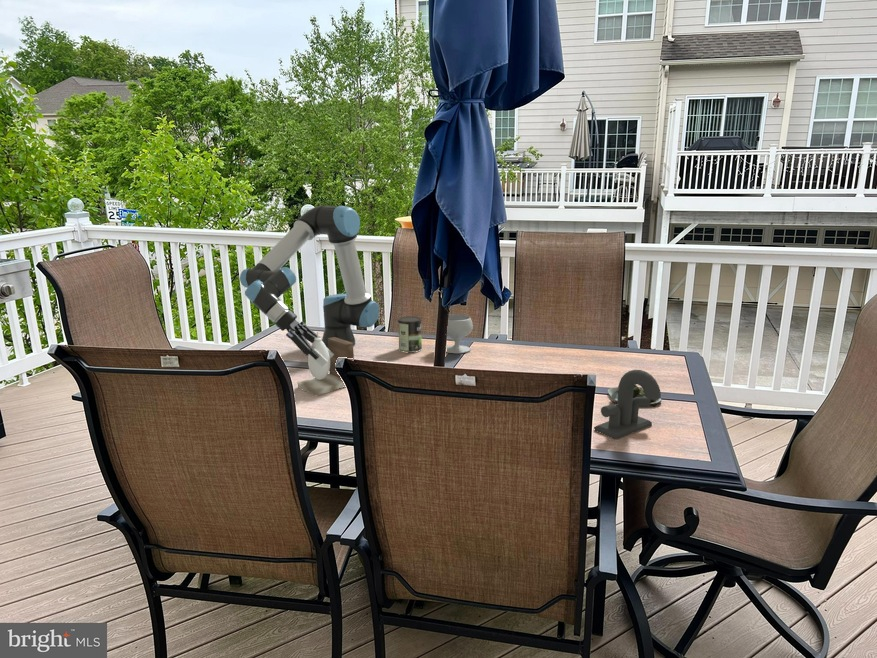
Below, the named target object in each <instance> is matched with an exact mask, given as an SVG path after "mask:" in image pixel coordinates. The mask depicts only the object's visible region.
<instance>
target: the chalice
mask: <svg viewBox="0 0 877 658" xmlns="http://www.w3.org/2000/svg"><path fill="white" fill-rule="evenodd" d="M448 315H449V318H448V326H447V335H446V336H447V337H449V338H451V339H452V340H453V341H454V345H453V344H451V345H447V346H446V347H447V352H446V353H448V354H456V355H457V354H466V353H469V352H471V348H470V347H469V346H467V345H460V340H462V338H465V337H466V336H468V335H469V334H471V333H472V331H473V328H474V326H473V324H474V323H473V321H472V318H471V316H469V315H467V314H463V313H462V314H461V313H452V314H448Z"/></svg>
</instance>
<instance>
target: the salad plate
mask: <svg viewBox="0 0 877 658" xmlns="http://www.w3.org/2000/svg"><path fill="white" fill-rule="evenodd" d="M618 388H619V385H617V386H615V387H611V388H608V390H607V393H608V395H609V400H610V401H611V402H614V403H615V404H617V401H618ZM635 397H646V396H645V392H644V390H643V388H642V387H641V386H639V385H638V384H636V385H635V386H634V390H633V398H635ZM650 402H651V404H650V407H649V408H653V407H657V406H659V405H660V404H661V402H662V397H661V398H660V399H658V400H651V399H650Z"/></svg>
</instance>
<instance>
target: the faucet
mask: <svg viewBox="0 0 877 658" xmlns="http://www.w3.org/2000/svg"><path fill="white" fill-rule="evenodd" d="M635 385H637V386H639V387H642V388H643V390H644V392H645V396H646V397H635V398H633V390H634V386H635ZM618 386H619V388H618V401H617V403H615V404H614V403H611V404H607V405H604V406H602V407H601V408H600V413H601V416H602V417H604V418H608V421H605V422H603V423H600V424H597V425H595V426H594V427H593V430H594V429H595V431H594V432H597V431H598V432H597V433H599V432H601V433H603V434H602V435H604V434H605V435H604V436H606V435H607V436H606V437H608V436H609V437H608V438H611V439H613V440H615V439H617V440H619V439H622V438H624V437H626V436H629V435H631V434H634V433H636V432H639V431H642V430H644V429H647V428H649V427H651V426H653V425H652V424H653V422H652V421H651V420H649V419H647V418H644V417H641V416H639V410H640V408H651V407H650V404H651V402H650V399H651V400H658V399H660V398H661V399H662V397H661V396H662V395H661V389H660V386H659V384H658V381H657V380H656V378H654V377H653V375H651V374H650V373H649V372H647V371H645V370H643V369H632V370H628V371H627V372H625V373H624V374H623V375H622V376H621V378H620V379H619V382H618ZM601 433H600V434H601Z"/></svg>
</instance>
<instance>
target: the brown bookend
mask: <svg viewBox="0 0 877 658" xmlns="http://www.w3.org/2000/svg"><path fill="white" fill-rule="evenodd" d="M328 349H329V350H330V351H331V352H332V353H333V354H334V355H333V356H332V357H331V358H330V370H329V373H328V375H327V376H325V378H323V379H320V380H319V379H316V378H315V377H312V378H308V379H305V380H301V381H298V382H297V388H298V387H299V388H298V389H300V388H301V389H300V390H302V389H303V390H302V391H304V390H305V392H306V391H307V393H309V394H311V395H313V396H315V395H317V396H319V395H324V394H326V393H330V391H331V392H333V390H334V391H337V390H340V389H339V388H341V389H343V386H344V388H346V387H345V385H344V383H343V381H342V380H341V378H340V376H339V375H338V374H337V372H336V371H335V363H336V360H337V358H338V357H347V358H353V359H354V360H355V357H354V355H355V354H354V346H353V343H351V342H348V341H345V340H342V339H339V338H336V337H331V338H328ZM336 389H337V390H336Z"/></svg>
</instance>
